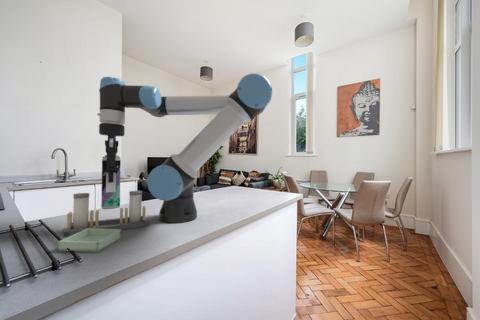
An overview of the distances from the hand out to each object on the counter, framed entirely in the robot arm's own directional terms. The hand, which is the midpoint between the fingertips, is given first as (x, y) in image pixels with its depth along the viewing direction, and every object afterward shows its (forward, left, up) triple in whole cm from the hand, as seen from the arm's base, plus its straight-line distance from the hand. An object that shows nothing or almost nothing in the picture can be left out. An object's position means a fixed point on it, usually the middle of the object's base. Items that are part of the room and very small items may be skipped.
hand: (111, 190), depth 72 cm
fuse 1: (+7, +4, -13) cm, 15 cm away
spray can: (0, 0, -6) cm, 6 cm away
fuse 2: (-7, -4, -13) cm, 15 cm away
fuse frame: (0, 0, -13) cm, 13 cm away
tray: (-4, +14, -13) cm, 19 cm away
